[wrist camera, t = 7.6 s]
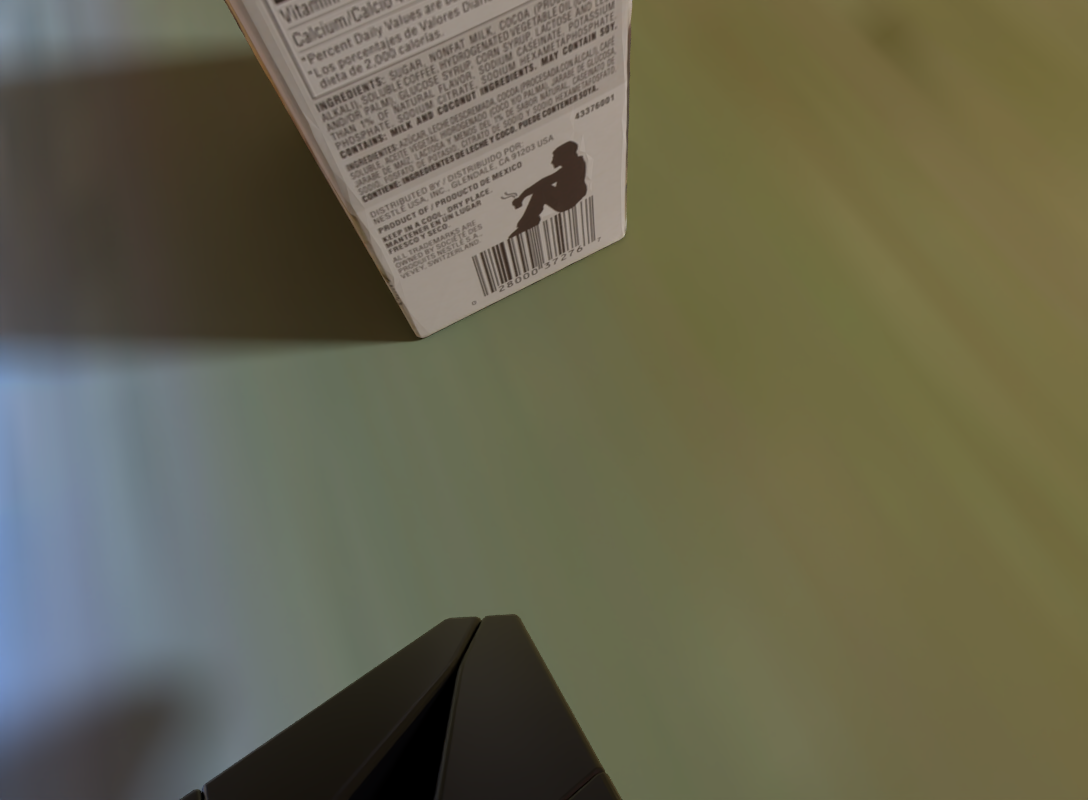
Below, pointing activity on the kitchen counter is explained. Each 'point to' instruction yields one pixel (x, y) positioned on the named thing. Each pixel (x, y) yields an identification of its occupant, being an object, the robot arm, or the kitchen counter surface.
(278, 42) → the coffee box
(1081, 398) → the kitchen counter surface
